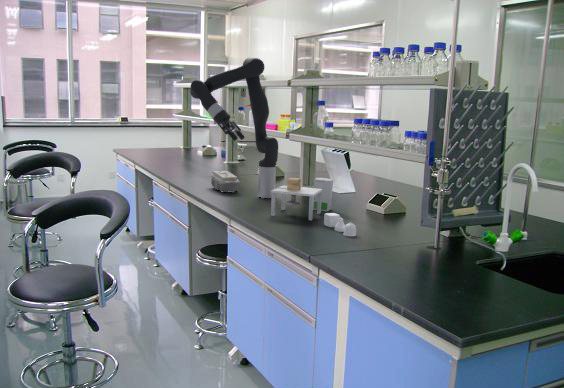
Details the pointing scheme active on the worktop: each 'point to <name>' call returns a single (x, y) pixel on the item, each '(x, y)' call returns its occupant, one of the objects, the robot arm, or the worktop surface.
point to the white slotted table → (303, 192)
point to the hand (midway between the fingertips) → (239, 139)
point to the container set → (339, 224)
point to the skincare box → (323, 193)
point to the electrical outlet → (224, 181)
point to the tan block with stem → (293, 185)
